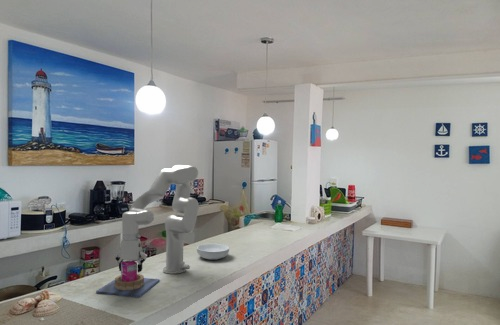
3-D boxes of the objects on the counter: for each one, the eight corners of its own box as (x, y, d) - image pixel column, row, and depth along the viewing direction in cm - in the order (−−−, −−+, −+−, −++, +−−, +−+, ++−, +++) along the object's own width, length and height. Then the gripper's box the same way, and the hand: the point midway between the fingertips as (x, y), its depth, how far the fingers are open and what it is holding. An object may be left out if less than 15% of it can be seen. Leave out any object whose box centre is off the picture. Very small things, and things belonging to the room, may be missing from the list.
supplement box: (120, 284, 182) (120, 261, 182) (131, 281, 186) (131, 259, 186) (126, 287, 178) (126, 264, 178) (137, 284, 182) (137, 262, 182)
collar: (159, 281, 191) (159, 272, 191) (139, 297, 169) (139, 287, 169) (120, 277, 195) (120, 269, 195) (96, 293, 173) (96, 283, 173)
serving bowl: (224, 264, 223) (224, 252, 223) (191, 261, 228) (191, 250, 227) (232, 254, 244) (233, 244, 244) (202, 252, 248) (202, 242, 248)
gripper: (150, 235, 184) (150, 269, 185) (118, 234, 187) (118, 267, 188) (143, 239, 176) (143, 274, 177) (110, 237, 179) (110, 272, 180)
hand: (130, 270), depth 182 cm, fingers open, 9 cm apart
